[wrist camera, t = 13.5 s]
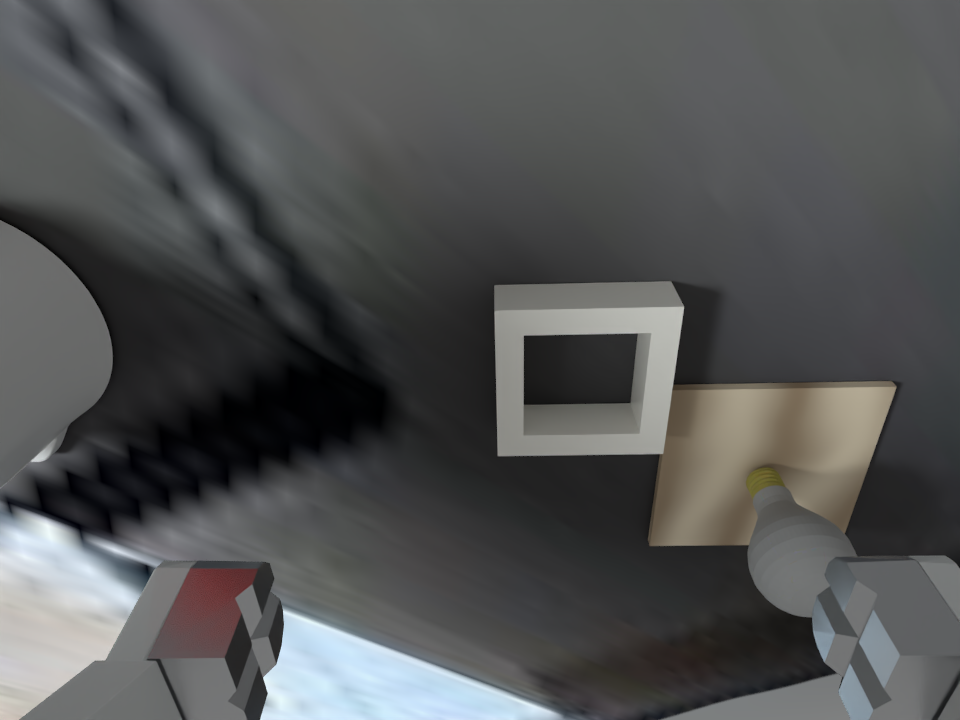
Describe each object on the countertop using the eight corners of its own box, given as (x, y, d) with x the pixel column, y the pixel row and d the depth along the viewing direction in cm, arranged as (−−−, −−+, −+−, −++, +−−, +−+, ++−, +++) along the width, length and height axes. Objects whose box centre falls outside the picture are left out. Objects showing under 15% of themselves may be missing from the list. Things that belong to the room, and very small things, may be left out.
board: (647, 539, 47) (649, 545, 47) (669, 384, 40) (671, 390, 40) (837, 537, 47) (841, 544, 46) (891, 381, 40) (896, 386, 40)
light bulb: (821, 452, 42) (901, 584, 34) (776, 512, 45) (838, 647, 36) (742, 430, 41) (802, 559, 33) (700, 492, 44) (746, 626, 36)
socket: (497, 425, 42) (497, 456, 40) (494, 284, 37) (494, 310, 35) (652, 422, 42) (663, 453, 39) (670, 281, 37) (684, 306, 34)
